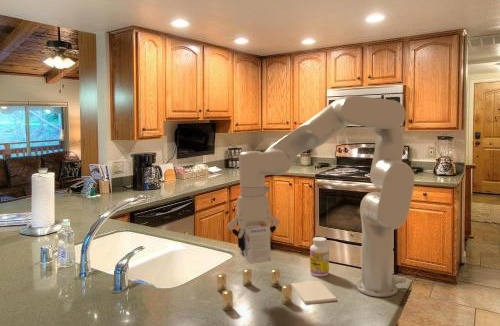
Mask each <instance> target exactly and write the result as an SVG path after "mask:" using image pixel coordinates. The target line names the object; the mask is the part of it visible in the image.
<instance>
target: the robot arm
mask: <svg viewBox="0 0 500 326" xmlns="http://www.w3.org/2000/svg"><path fill="white" fill-rule="evenodd" d="M406 115H407V113H406V109H405V107H404V105H402V103H400V102H399V101H397V100H394V99H388V98H387V99H386V98H378V97H370V96H363V95H352V94H351V95H346V96H342V97H341V96H340V97H338V98H337V99H335V100H334V101H332V102H331V103H330V104H328V105H327V106H325V107H324V108H323V109H321V110H320V111H319V112H317V114H315V115H313V116H311V118H309V119H308V120H307V121H306V122H304V123H303V124H301V125H300V126H298V127H297V128H295V129H294V130H293V131H290V132H289V133H288V134H287V135H284V136H283V137H282V138H280V139H279V140H277V142H275V143H273V144H272V145H270V147H268V148H267V149H266V150H265V151H260V150H246V151H242V152H240V153H239V155H238V166H239V168H238V169H239V190H240V191H239V193H240V194H239V196H237V199H236V200H237V201H236V216H235V217H234V218H233V219H232V220H231V221H230V222H228V223H227V228H228V229H229V230H230V231H231V232H232V234H234V235H235V236H236V237H237V247H238V249H239V250H240V249H241V251H243V250H244V239H243V237H242V235H243V233H244V231H245V230H246V226H253V225H262V224H267V225H269V226H270V246H271V245H272V240H271V239H272V238H271V236H272V235H273V233H274V232H275V231H276V229H277V227H278V226H279V225H280V223H281V221H280V220H279V219H278V218H277V217H276V216H275V217H274V216H273V215H272V214H271V211H270V203H269V198H268V195H267V194H266V193H267V192H270V190H271V189H270V187H269V186H266V183H265V181H266V180H265V178H266V177H265V175H271V176H282V175H284V174H287V173H288V171H289V170H290V169H291V167H292V160H293V159H294V158H296V157H298V156H299V155H300V154H303V153H304V152H306V151H309V150H313V149H316V148H318V147H321V146H322V145H325V143H326V142H328V141H329V140H331V138H333V137H334V136H336V135H337V134H338V133H340V132H341V131H343V130H344V129H345V128H346V127H348V126H351V125H353V126H361V127H367V128H368V127H369V128H370V129H371V131H372V133H373V136H374V138H375V139H374V140H375V144H374V145H375V146H374V151H373V157H372V161H371V165H370V171H369V172H370V173H369V178H370V181H371V183H372V184H373V185H374V186H375V187H377V188H379V189H380V191H371V192H368V193H367V194H366V195H364V196H363V198H362V200H361V201H360V206H359V212H360V220H361V237H362V238H361V275H360V276H361V278H360V279H359V280H358V281H357V282H356V289H357V290H358V292H360V293H362V294H364V295H368V296H370V297H371V296H372V297H377V298H380V297H381V298H386V297H391V296H394V295H397V293H398V287H397V285H398V284H405V283H407V277H406V276H398V275H397V274H393V266H394V265H393V264H394V263H393V262H394V261H393V259H394V256H393V255H394V230H397V229H399V228H401V227H402V226H403V225H404V224H405V222H406V220H407V218H408V216H409V212H410V207H411V203H412V197H413V193H414V187H415V174H414V171H413V169H412V167H411V166H410V165H408V163H406V162H404V161H403V155H404V149H405V148H404V147H405V136H404V133H403V130H402V127H401V125H403V123H404V122H405V120H406ZM271 222H273V223H271ZM271 224H272V225H271ZM235 225H236V226H237V227H238V230H237V229H236V228H235V227H234V226H235Z"/></svg>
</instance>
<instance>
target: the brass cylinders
mask: <svg viewBox="0 0 500 326" xmlns="http://www.w3.org/2000/svg"><path fill="white" fill-rule="evenodd" d="M252 285H253V270H252V269H251V268H244V269H242V286H244V287H247V288H248V287H252ZM280 285H281V270H280V269H278V268H275V269H270V286H271V287H272V288H278V287H280ZM216 292H219V293H221V294H222V295H221V296H222V297H221V298H222V299H221V300H222V302H221V303H222V311H224V312H231V311H233V309H234V306H233V305H234V303H233V299H234V298H233V297H234V296H233V290H230V289H227V274H226V273H218V274H217V275H216ZM292 295H293V288H292V286H291V284H282V285H281V304H282V305H285V306H290V305H291V304H293V296H292Z"/></svg>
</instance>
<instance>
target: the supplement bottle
mask: <svg viewBox="0 0 500 326" xmlns="http://www.w3.org/2000/svg"><path fill="white" fill-rule="evenodd" d="M312 242H313V243H312V245H311V246H310V247H309V248H310V249H309V252H310V253H309V273H310V274H311V275H313V276H314V277H320V278H322V277H326V276H328V275H329V273H330V272H329V270H330V247H329V246H328V245H327V238H325V237H323V236H316V237H313V238H312Z"/></svg>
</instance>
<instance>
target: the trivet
mask: <svg viewBox="0 0 500 326" xmlns="http://www.w3.org/2000/svg"><path fill="white" fill-rule="evenodd" d="M290 285H291V286H292V290H294V291H295V293H296V294H297V295H298V297H299V299H301V301H302V302H303V303H304V304H305V305H307V304H315V303H317V304H318V303H325V302H327V303H328V302H336V301H337V297H336V296H335V295H334V294H333V293H332V292H331V291H330V289H329V288H327V287H326V286H325V285H324V284H323V282H322V281H320V280H312V281H303V282H294V283H292V282H291V283H290Z"/></svg>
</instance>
